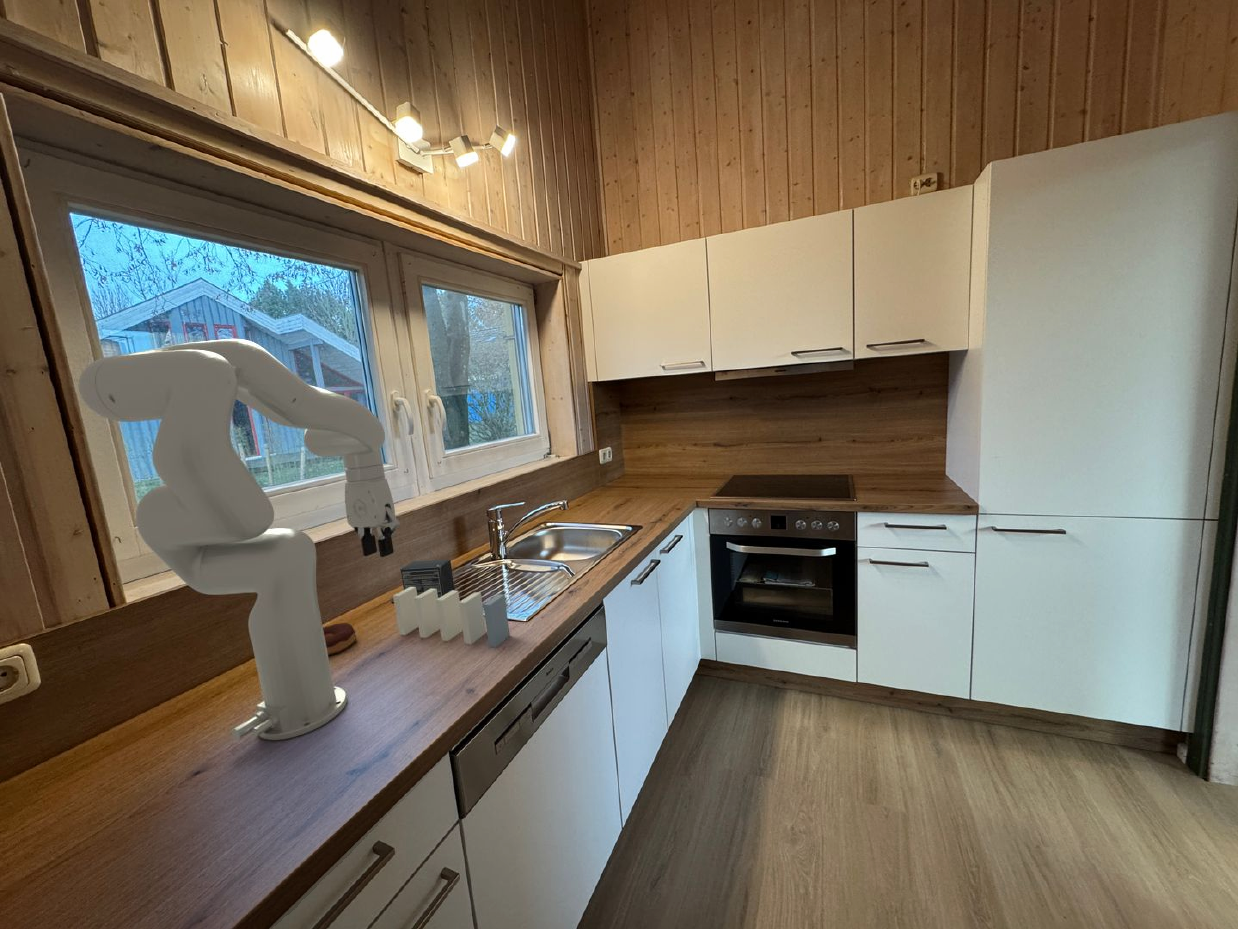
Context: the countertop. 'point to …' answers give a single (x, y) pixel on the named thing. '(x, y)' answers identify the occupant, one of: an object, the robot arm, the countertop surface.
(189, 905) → the countertop surface
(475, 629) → the domino
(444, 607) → the domino
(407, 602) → the domino
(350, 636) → the donut
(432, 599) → the domino
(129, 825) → the countertop surface
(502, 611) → the domino
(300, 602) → the robot arm
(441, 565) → the small box
